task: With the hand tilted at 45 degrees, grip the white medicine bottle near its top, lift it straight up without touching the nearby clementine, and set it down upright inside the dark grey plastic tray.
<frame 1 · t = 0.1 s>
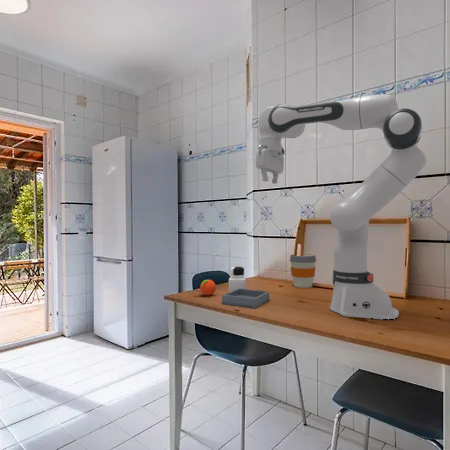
hand: (270, 182, 133), 48 cm above the table, tool pointing down, fingers open, 8 cm apart
tray: (246, 302, 130), on the table
clementine: (207, 296, 142), on the table
reusable coffee cup: (303, 286, 161), on the table
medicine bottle: (237, 294, 145), on the table
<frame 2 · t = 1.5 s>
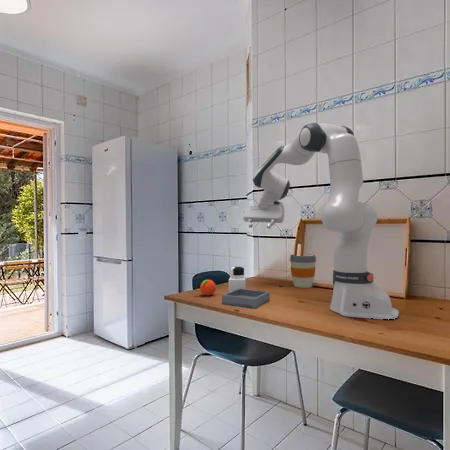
hand: (259, 227, 155), 29 cm above the table, tool tilted 45°, fingers open, 8 cm apart
nothing on the table moved.
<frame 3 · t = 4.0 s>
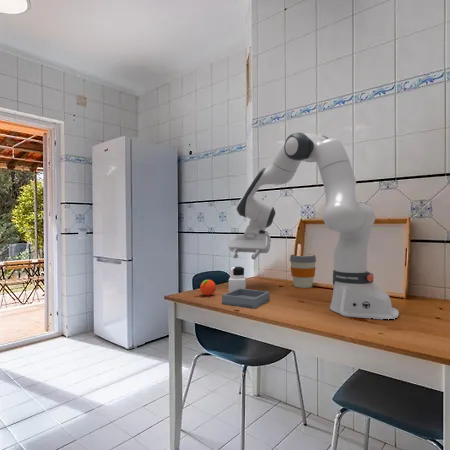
hand: (243, 258, 150), 15 cm above the table, tool tilted 45°, fingers open, 8 cm apart
nothing on the table moved.
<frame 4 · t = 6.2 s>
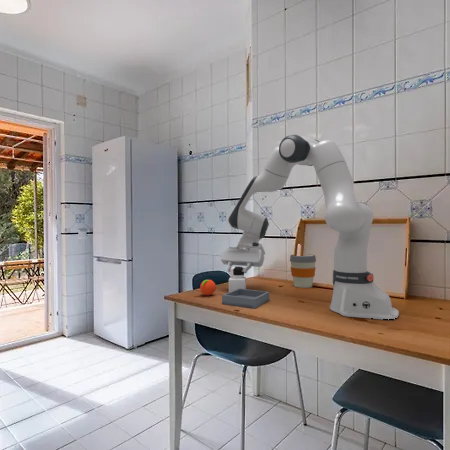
hand: (236, 271, 144), 10 cm above the table, tool tilted 45°, fingers closed on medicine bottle, 6 cm apart
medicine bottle: (237, 294, 145), on the table, touching gripper
everything else where it was.
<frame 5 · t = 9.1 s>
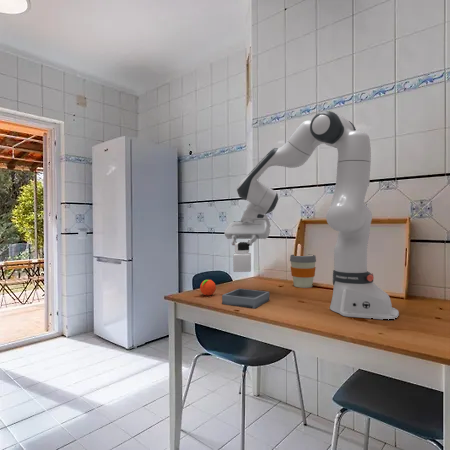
hand: (241, 244, 137), 22 cm above the table, tool tilted 45°, fingers closed on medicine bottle, 6 cm apart
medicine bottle: (242, 271, 137), point 11 cm above the table, touching gripper
everything else where it was.
when the fingers open (12 cm above the table, at t = 12.4 s): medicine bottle stays where it is, resting on tray.
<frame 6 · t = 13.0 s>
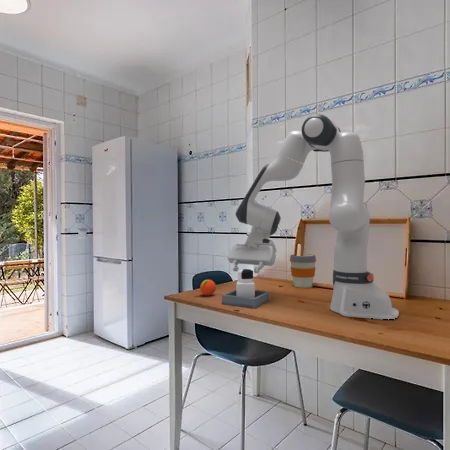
hand: (245, 271, 129), 12 cm above the table, tool tilted 45°, fingers open, 8 cm apart
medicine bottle: (245, 300, 130), point 1 cm above the table, touching tray
everything else where it was.
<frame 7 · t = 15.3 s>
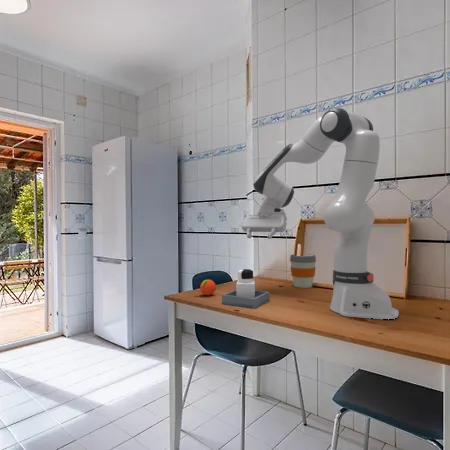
hand: (258, 237, 140), 25 cm above the table, tool tilted 45°, fingers open, 8 cm apart
nothing on the table moved.
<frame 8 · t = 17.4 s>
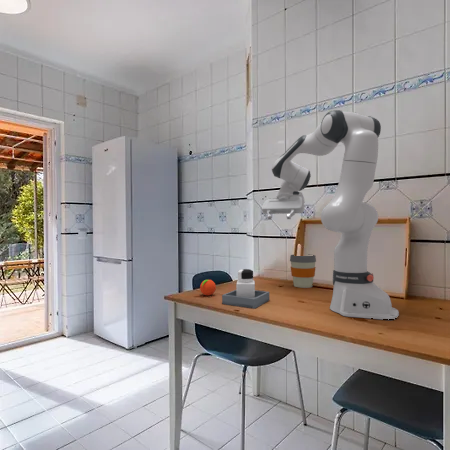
hand: (278, 218, 149), 33 cm above the table, tool tilted 45°, fingers open, 8 cm apart
nothing on the table moved.
at the end: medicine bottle inside the target area on the tray (0.2 cm from its centre), point 0.8 cm above the tray's base; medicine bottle tilted 0°; clementine moved 0.2 cm from its start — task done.
